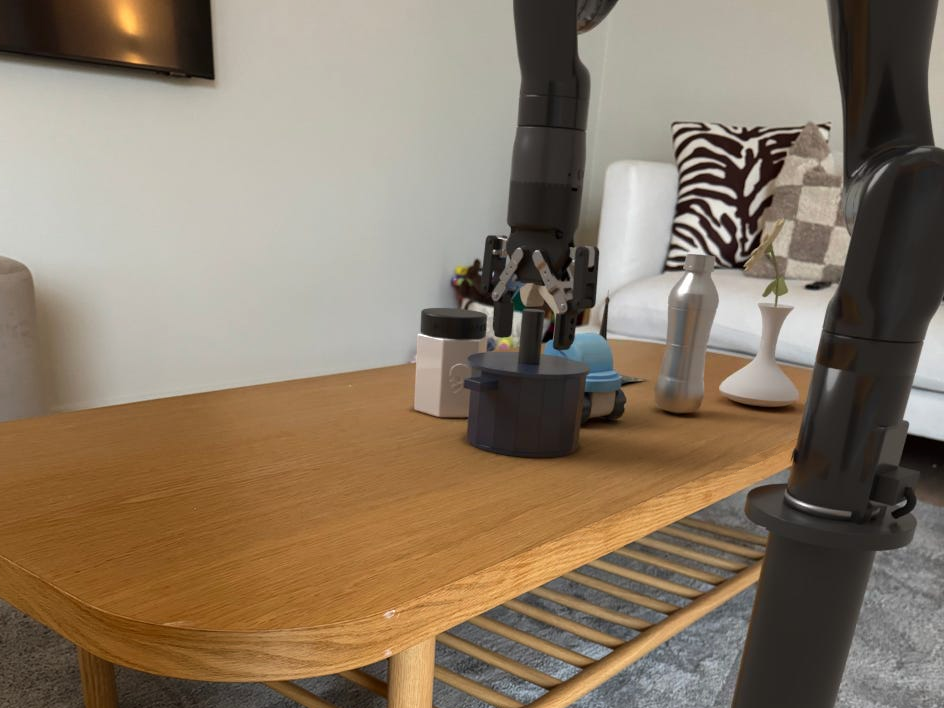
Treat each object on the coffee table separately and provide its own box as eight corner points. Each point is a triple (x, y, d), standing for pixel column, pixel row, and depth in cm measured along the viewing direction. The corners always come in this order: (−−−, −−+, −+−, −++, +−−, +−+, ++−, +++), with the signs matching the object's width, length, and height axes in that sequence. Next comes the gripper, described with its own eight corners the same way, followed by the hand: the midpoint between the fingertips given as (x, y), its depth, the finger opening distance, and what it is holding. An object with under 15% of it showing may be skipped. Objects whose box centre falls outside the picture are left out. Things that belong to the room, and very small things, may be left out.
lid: (613, 378, 106) (622, 316, 104) (534, 389, 97) (541, 322, 95) (522, 357, 115) (527, 300, 112) (441, 366, 106) (444, 304, 103)
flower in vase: (742, 392, 147) (775, 216, 137) (810, 407, 140) (852, 222, 130) (695, 401, 139) (727, 213, 128) (766, 417, 132) (806, 220, 121)
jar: (421, 418, 117) (426, 315, 112) (407, 403, 124) (411, 306, 119) (491, 418, 120) (499, 318, 114) (472, 404, 127) (479, 308, 121)
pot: (612, 444, 112) (623, 370, 108) (510, 467, 100) (517, 384, 96) (531, 422, 119) (538, 352, 116) (426, 440, 107) (430, 363, 104)
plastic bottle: (682, 420, 127) (709, 258, 118) (641, 409, 131) (664, 252, 122) (710, 415, 131) (738, 258, 122) (669, 405, 135) (694, 252, 126)
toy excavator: (544, 397, 134) (557, 266, 127) (629, 424, 122) (650, 281, 115) (496, 401, 129) (507, 265, 122) (580, 430, 117) (598, 281, 110)
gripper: (471, 173, 100) (461, 335, 107) (578, 181, 91) (560, 356, 98) (519, 177, 105) (506, 331, 112) (625, 185, 96) (604, 351, 103)
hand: (531, 343), depth 105 cm, fingers open, 8 cm apart
